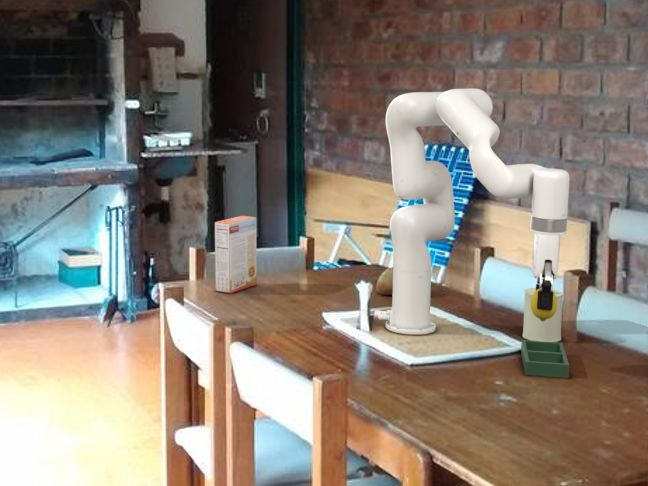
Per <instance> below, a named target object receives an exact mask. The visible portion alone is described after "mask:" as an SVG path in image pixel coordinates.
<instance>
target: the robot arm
mask: <svg viewBox="0 0 648 486" xmlns="http://www.w3.org/2000/svg"><path fill="white" fill-rule="evenodd" d="M493 111H494V106H493V101H492V98H491V96H490V95H489V94H488V93H487V92H486V91H484V90H483V89H480V88H473V87H472V88H470V87H469V88H452V89H448V90H446V91H413V92H406V93H403V94H399V95H398V96H397V97H395V98H394V99H393V100H392V101H391V102H390V104H389V105H388V107H387V110H386V114H385V129H386V134H387V138H388V143H389V149H390V164H391V165H390V166H391V176H392V187H393V191H394V194H395V196H396V197H398V198H399V199H401V200H405V201H414V200H423V204H422V203H420V204H411V205H405V206H402V207H400V208H398V209H397V210H395V211H394V212H393V214H392V215H391V217H390V221H389V231H390V236H391V242H392V267H393V294H392V295H391V296H392V297H391V298H392V299H391V300H392V301H391V307H390V309H387V310H386V311H385V310H379V309H378V310H374V314H373V316H374V319H378V320H381V321H385V320H386V322H385V328H386V330H387V331H390V332H393V333H396V334H401V335H408V336H409V335H410V336H411V335H412V336H420V335H429V334H432V333H434V332H435V331H436V330H437V325H436V324H435V323H434V322H432V321H431V297H432V296H431V292H432V291H431V290H432V257H431V254H430V251H429V249H428V247H427V244H426V243H428V242H433V241H434V242H435V241H441V240H444V239H447V238H448V237H449V236H451V234H452V233H453V232H454V229H455V224H456V223H455V222H456V214H455V202H454V200H455V199H454V187H453V179H452V175H451V173H450V171H449V169H448V168H447V167H446V165H445V164H444V163H442V162H440V161H438V160H427V158H426V153H425V152H426V147H425V143H424V140H423V138H422V136H421V135H420V133H419V132H418V130H417V128H419V127H436V126H438V127H439V126H447V127H448V129H449V130H450V131H451V132H452V133H453V134H454V135H455V136H456V138H458V139H459V141H461V143H462V144H463V145H464V146H465V147H466V148H467V150H468V151H469V154H468V155H469V156H468V157H469V163H470V167H471V171H472V173H473V174H474V176H475V177H476V178H477V180H478V181H479V182H480V184H481V185H482V186H483V187H484V188H485V189H486V190H487V191H488V193H490V194H491V195H493V196H494V197H495V198H498V199H501V200H515V199H525V198H527V199H528V198H531V212H530V214H531V215H530V227H529V229H530V230H529V231H530V232H531V233H534V236H533V245H532V258H531V274H532V277H533V279H534V278H535V279H536V284H535V288H536V290H537V289H539V291H538V298H537V309H539V310H552V308H553V289H554V280H556V279H557V277H558V270H559V262H560V260H559V259H560V251H561V250H560V249H561V236H563V235H566V234H567V226H568V213H569V210H568V209H569V197H570V181H571V180H570V178H571V177H570V174H569V172H568V171H567V170H564V169H560V168H552V167H551V168H548V167H545V166H542V165H539V164H536V163H517V164H507V165H506V164H505V163H504V162H503V161H502V160H501V159H500V157H498V155H497V154H496V153H495V152H494V150H493V149H492V147H493V146H494V145H495V144H496V142H497V141H498V139H499V137H500V133H501V131H500V130H501V129H500V127H499V126H498V124H496V122H494V120H492V118H491V116H492V114H493Z"/></svg>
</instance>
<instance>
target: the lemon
mask: <svg viewBox="0 0 648 486" xmlns="http://www.w3.org/2000/svg"><path fill="white" fill-rule="evenodd" d="M538 291H539V289H537V290H536V291H535V292H534V293H533V295H532V298H531V310H532V312H533V314H534V315H535V316H536V317H537V318H539V319H540V320H541V321H545V320H546V319H549V318H551V317H552V316H553V315H554V314H555V312H556V309H557V299H556V295H555V294H554V292H553V308H552V310H539V309H537V298H538Z"/></svg>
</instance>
